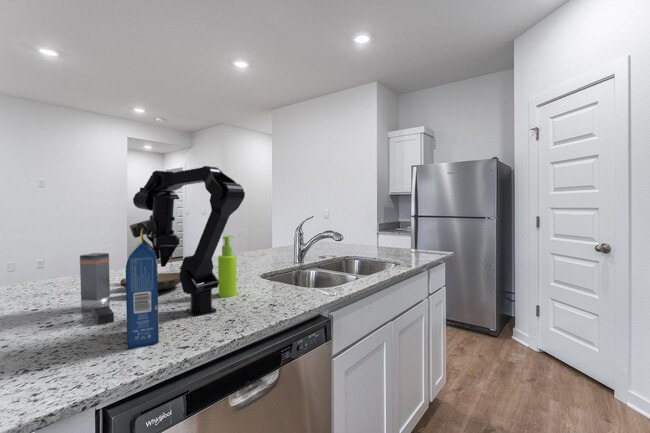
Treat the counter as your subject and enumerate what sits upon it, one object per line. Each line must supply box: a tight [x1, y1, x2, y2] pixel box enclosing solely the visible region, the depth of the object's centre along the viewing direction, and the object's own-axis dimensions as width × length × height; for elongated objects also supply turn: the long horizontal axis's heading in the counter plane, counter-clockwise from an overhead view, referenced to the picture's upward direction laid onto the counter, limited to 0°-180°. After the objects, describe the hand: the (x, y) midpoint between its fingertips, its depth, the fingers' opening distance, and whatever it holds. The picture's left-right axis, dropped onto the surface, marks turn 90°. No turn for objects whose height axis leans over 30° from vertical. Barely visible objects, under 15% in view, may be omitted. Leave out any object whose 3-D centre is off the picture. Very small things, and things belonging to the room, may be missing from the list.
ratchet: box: [80, 295, 115, 326], centre depth 94 cm, size 21×7×6 cm, turn 42°
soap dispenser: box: [217, 235, 238, 298], centre depth 113 cm, size 6×7×20 cm
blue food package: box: [125, 228, 160, 349], centre depth 77 cm, size 6×12×25 cm, turn 27°
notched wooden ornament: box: [119, 272, 181, 291], centre depth 122 cm, size 22×30×8 cm
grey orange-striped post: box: [79, 252, 111, 301], centre depth 99 cm, size 5×5×13 cm
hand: (159, 262), depth 103 cm, fingers open, 9 cm apart
